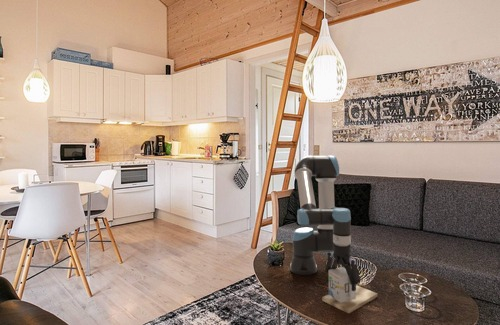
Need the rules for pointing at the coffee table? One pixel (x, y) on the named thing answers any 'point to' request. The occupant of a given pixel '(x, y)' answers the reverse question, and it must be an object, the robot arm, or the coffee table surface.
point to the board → (351, 305)
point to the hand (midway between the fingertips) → (342, 293)
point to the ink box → (339, 284)
